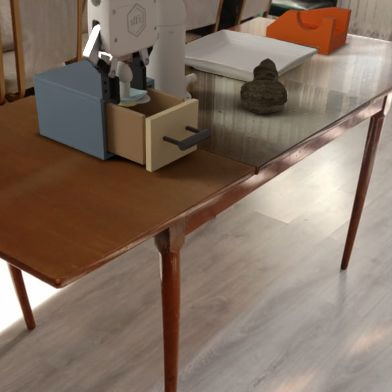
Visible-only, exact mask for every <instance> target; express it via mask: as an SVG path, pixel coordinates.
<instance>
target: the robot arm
mask: <svg viewBox="0 0 392 392" xmlns="http://www.w3.org/2000/svg"><path fill="white" fill-rule="evenodd" d="M186 26H187V11H186V5H185V2H184V0H87V30H88V31H87V32H88V40H87V43H86V45H85V48H84V50H83V52H82V58H83V60H85V59H86V60H87V61H88V62H89V63H91V64H92V66H93V67H94V68H95V69H96V70H97V73H99V74H101V87H102V99H103V100H104V101H107V102H109V103H112V104H115V105H118V104H120V81H119V77H118V76H116V71H117V64H118V62H119V58H121V57H125V56H128V55H129V58H130V61H129V62H127V63H128V64H127V65H128V66H129V67H130V69H131V71H132V80H131V82H130V88H134V89H137V90H144V91H147V77H149V78H152V79H154V80H155V83H154V84H155V89H156V90H159V91H162V92H166V93H169V94H172V95H175V96H178V97H181V98H184V99H185V102H186V101H188V100H191V99H192V94H191V93H190V92H189V91H188V90H187V88H188V86H189V85H193V84H195V83H196V82H197V81H198V77H197V75H196V73H193V72H192V73H190V74H187V75H185V74H186V73H185V72H186V65H185V45H186V37H187V36H186V34H187V33H186V31H187V27H186ZM107 58H109V60H108V63H107Z"/></svg>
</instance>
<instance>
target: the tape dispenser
mask: <svg viewBox="0 0 392 392" xmlns="http://www.w3.org/2000/svg"><path fill="white" fill-rule="evenodd" d="M351 16H352V9H349V8H343V7H338V6H330V7H322V8H321V7H320V8H312V9H303V10H297V9H293V8H291V9H289V10H287V11H285V12H284V13H283V14H282V15H280V16H278V17H277V19H275V20H274V21H272V22H271V23H270V24H269V25H268V26H266V30H265V37H268V38H273V39H277V40H281V41H285V42H289V43H293V44H298V45H303V46H307V47H312V48H318V49H317V50H318V52H317V53H318V54H321V55H325V56H328V55H330V54H332V53H334V52H335V51H336V50H338V49H340V48H341V47H343V46H344V45H346V43H347V38H348V32H349V27H350V22H351Z"/></svg>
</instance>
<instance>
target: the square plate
mask: <svg viewBox="0 0 392 392" xmlns="http://www.w3.org/2000/svg"><path fill="white" fill-rule="evenodd" d="M317 53H318V49H317V48H315V47H311V46H306V45H302V44H298V43H294V42H289V41H284V40H277V39H273V38H268V37H266V36H264V35H258V34H254V33H247V32H241V31H235V30H230V29H221V30H219V31H215V32H213V33H210V34H207V35H205V36H202V37H200V38H197V39H195V40H193V41H190V42H188V43H185V66H188V67H192V68H194V69H195V70H198V71H202V72H205V73H210V74H213V75H218V76H223V77H226V78H230V79H235V80H238V81H243V82H250V81H253V79H254V78H253V77H254V75H253V70H254V68H255V67H256V66H258V65H260V63H261V62H262V61H263V60H265V59H267V58H269V59H270V60H272V61H273V62H274V63H275V66H276V69H277V71H278V76H279V77H280V76H282V75H283V74H285V73H287V72H289V71H290V70H292V69H294V68H296V67H299V66H300V65H303V64H304V63H305V62H308V61H309V60H310V59H312V58H313V57H314V56H315V55H316V54H317Z"/></svg>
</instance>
